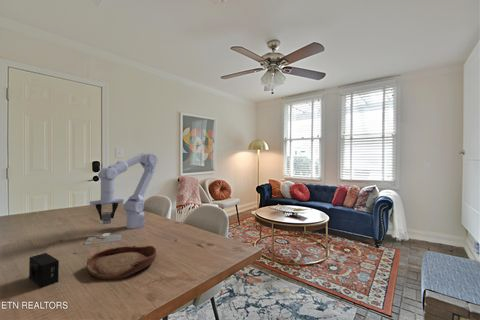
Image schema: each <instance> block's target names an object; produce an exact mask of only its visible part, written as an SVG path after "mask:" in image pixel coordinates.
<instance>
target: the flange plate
mask: <svg viewBox="0 0 480 320" xmlns="http://www.w3.org/2000/svg"><path fill="white" fill-rule="evenodd" d="M122 236H123V235H122V233H120V234H110V235H108V236H103V235H100V236H90V237H88V238H87V239H86V241H85V242H84V245H92V244H93V245H94V244H102V243H109V242H110V243H112V242H119V241H121V239H122ZM96 239H97V240H96ZM98 239H100V240H98Z"/></svg>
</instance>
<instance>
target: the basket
mask: <svg viewBox="0 0 480 320" xmlns="http://www.w3.org/2000/svg"><path fill="white" fill-rule="evenodd" d="M156 258H157V248H156V247H154V246H153V245H147V246H146V245H145V246H118V247H115V248H113V247H112V248H107V249H103V250H99V251H98V252H95V253H93V254H91V256H89V257H87V261H86V267H87V270H88V271H89V273H90V274H91V275H93V276H94V277H96V278H97V279H101V280H102V279H103V280H111V281H112V280H120V279H125V278H126V277H129V276H131V275H133V274H135V273H137V272H139V271H141V270H143V269H145V268H146V267H148V266H149V265H151V264H153V263H154V261H156Z"/></svg>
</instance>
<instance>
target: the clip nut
mask: <svg viewBox="0 0 480 320" xmlns="http://www.w3.org/2000/svg"><path fill="white" fill-rule="evenodd" d="M101 213H102V220H101V221H102V224H103V225H109V224H111V223H112V211H105V212H101Z"/></svg>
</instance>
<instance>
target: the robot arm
mask: <svg viewBox="0 0 480 320" xmlns="http://www.w3.org/2000/svg"><path fill="white" fill-rule="evenodd" d="M157 163H158V157H157V154H155V153H154V152H153V153H152V152H151V153H143V152H141V153H139V154H137V155H134V156H133V157H132V158H130V159H128V160H126V161H121V160H118V161H116V163H114V164H112V165H111V164H110V165H108V167H103V168H101V169H100V170H99V172H98V173H97V175H98V177H99V179H100V199H99V200H98V199H97V200H91V201H89V207H92V206H95V209H96V210H97V213H98V215H99V220H100V221H102V213H103V212H102V208H103V207H102V206H104V205H111V207H112V208H111V212H112V219H114V216H115V213H116V211H117V209H118V207H119V204H124V205H123V208H124V209H123V210H125V213H126V224H125V225H126V227H125V228H126V229H128V230H133V229H141V228H145V226H146V225H145V224H146V222H145V211H143V210H144V209H145V203H146V201H145V199H144V197H145V194H146V192H147V190H148V188H149V185H150V183H151V181H152V179H153V176H154V174H155V171H156V165H157ZM137 164H140V166H142V168H143V173H142V174H141V177H140V180H139V182H138V184H137V186H136V187H135V190H134V192H133V194H132V195H131V196H129V197H128V198H127V200H126V201H125V202H124V198H115V179H116V178H117V177H118V176H119V175H120V174H122V173H125V172H126V171H128V168H130V167H132V166H135V165H137ZM112 219H111V220H112Z"/></svg>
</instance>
